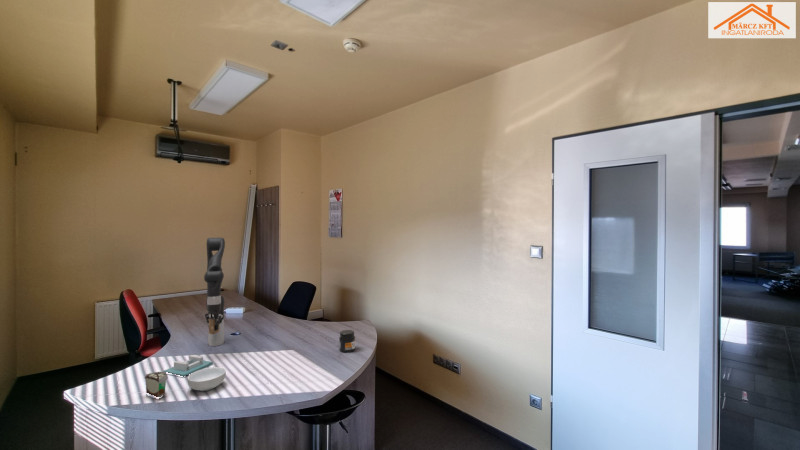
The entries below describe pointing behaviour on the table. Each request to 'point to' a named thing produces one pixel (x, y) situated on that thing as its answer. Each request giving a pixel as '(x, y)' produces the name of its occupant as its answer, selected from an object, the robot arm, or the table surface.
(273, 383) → the table surface
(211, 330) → the brown upright block
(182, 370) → the dish
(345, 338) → the supplement container
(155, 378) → the food container
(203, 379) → the cereal bowl
